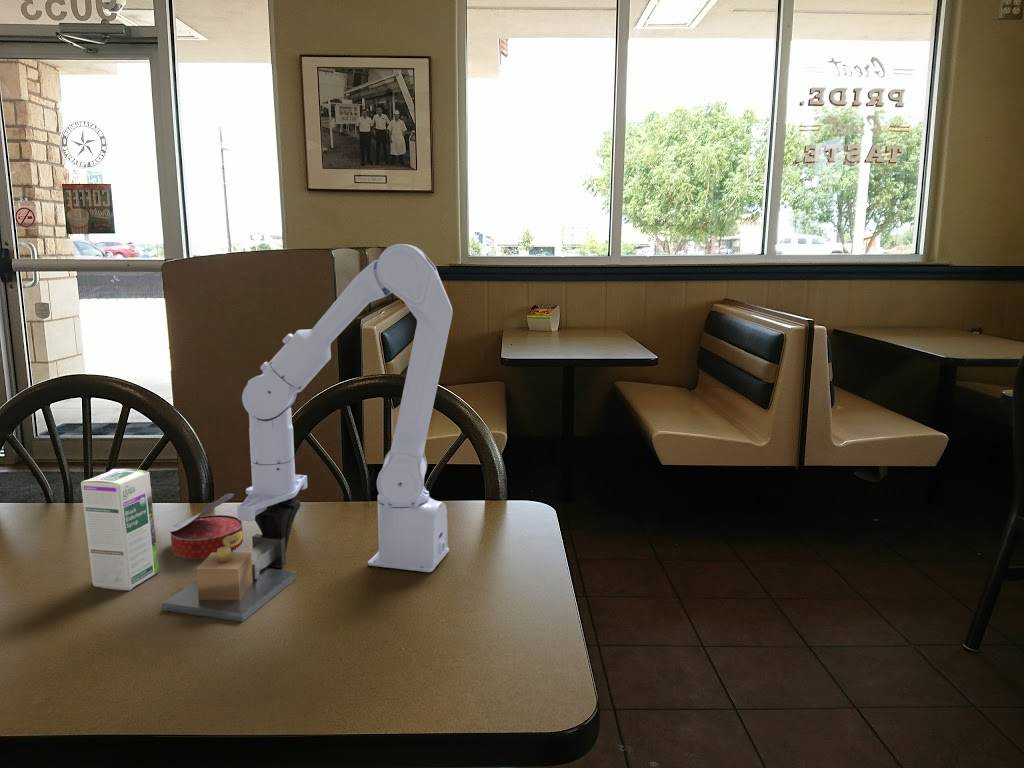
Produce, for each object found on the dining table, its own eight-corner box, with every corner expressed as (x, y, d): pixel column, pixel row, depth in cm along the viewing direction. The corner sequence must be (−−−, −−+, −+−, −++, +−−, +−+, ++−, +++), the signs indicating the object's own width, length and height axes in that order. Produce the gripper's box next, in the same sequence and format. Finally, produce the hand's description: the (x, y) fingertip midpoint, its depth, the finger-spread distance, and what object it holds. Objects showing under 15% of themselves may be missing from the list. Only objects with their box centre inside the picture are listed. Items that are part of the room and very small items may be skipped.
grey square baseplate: (295, 578, 98) (295, 571, 98) (242, 621, 86) (242, 613, 86) (223, 569, 100) (222, 562, 100) (162, 610, 89) (161, 602, 89)
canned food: (199, 590, 105) (161, 542, 99) (180, 560, 112) (143, 513, 107) (268, 540, 109) (235, 491, 104) (245, 514, 117) (213, 468, 112)
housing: (239, 599, 90) (237, 557, 89) (198, 599, 90) (195, 557, 89) (252, 581, 95) (250, 541, 94) (213, 581, 94) (211, 541, 94)
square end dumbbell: (285, 564, 102) (284, 537, 101) (257, 586, 95) (255, 557, 94) (257, 560, 103) (256, 533, 102) (227, 582, 96) (225, 553, 95)
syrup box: (130, 591, 94) (120, 482, 91) (90, 587, 95) (79, 479, 92) (159, 572, 99) (151, 469, 97) (121, 568, 100) (112, 466, 98)
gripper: (275, 444, 109) (279, 530, 111) (214, 471, 95) (220, 570, 97) (318, 447, 107) (321, 535, 110) (263, 476, 93) (268, 576, 96)
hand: (277, 552), depth 103 cm, fingers closed
